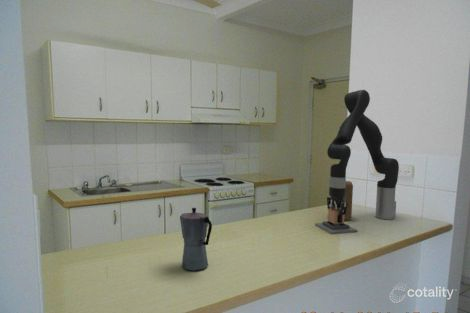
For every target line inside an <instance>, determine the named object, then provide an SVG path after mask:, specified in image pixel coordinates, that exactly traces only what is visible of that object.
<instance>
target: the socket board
mask: <svg viewBox="0 0 470 313" xmlns="http://www.w3.org/2000/svg"><path fill="white" fill-rule="evenodd" d="M314 225H315V226H316V227H317V228H320V229H322V230H323V231H324V232H326V233H328V234H330V235H338V234H350V233H351V234H352V233H358V229H355V228H354V227H352V226H350V225H349V224H347V223H345V222H344V223H340V224H333V223H331V222H329V221H328V220H326V221H325V220H324V221H322V222H317V223H315V224H314Z"/></svg>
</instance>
